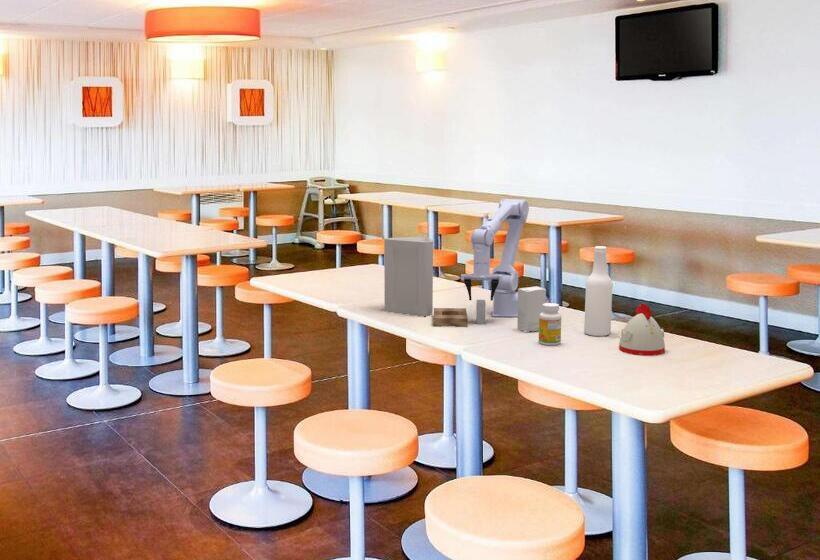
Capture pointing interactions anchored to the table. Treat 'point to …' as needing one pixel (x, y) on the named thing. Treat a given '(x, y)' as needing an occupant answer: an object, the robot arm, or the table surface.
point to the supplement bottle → (550, 325)
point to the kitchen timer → (642, 334)
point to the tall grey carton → (409, 275)
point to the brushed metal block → (480, 311)
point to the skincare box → (530, 307)
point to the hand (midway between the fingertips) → (480, 300)
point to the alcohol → (598, 297)
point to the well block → (450, 317)
